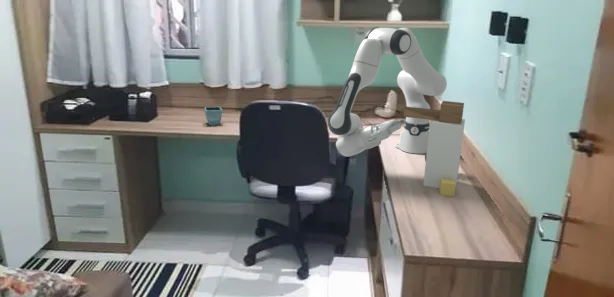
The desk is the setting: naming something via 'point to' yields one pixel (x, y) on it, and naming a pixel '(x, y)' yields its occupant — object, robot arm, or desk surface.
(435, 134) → the white block
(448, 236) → the desk surface
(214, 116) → the flower pot
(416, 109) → the brown block
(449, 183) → the mustard block
